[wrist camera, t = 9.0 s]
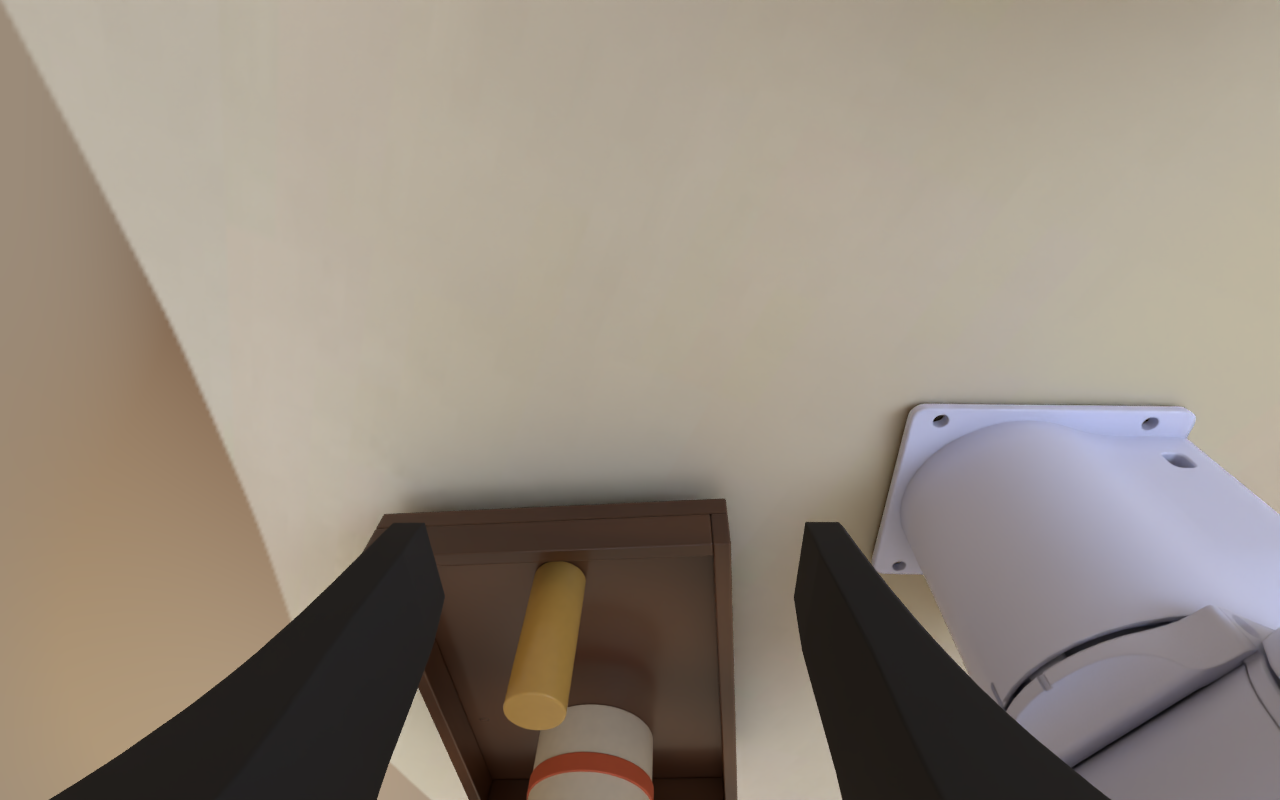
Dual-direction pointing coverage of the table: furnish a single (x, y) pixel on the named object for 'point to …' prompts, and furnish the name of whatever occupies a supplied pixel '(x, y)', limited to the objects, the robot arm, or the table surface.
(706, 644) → the tray
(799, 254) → the table surface
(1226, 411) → the table surface
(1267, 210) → the table surface
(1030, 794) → the robot arm
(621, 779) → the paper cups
